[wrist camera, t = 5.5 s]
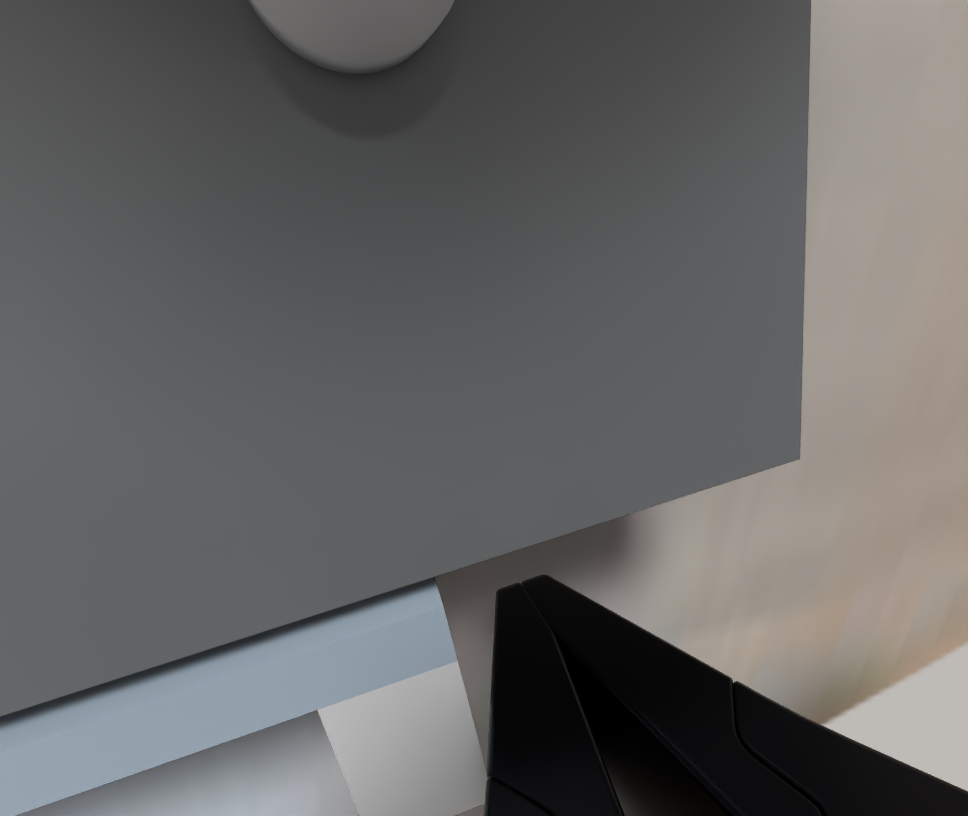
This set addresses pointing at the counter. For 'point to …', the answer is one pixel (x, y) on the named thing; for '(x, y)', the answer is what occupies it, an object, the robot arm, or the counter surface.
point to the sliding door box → (373, 297)
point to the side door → (276, 711)
